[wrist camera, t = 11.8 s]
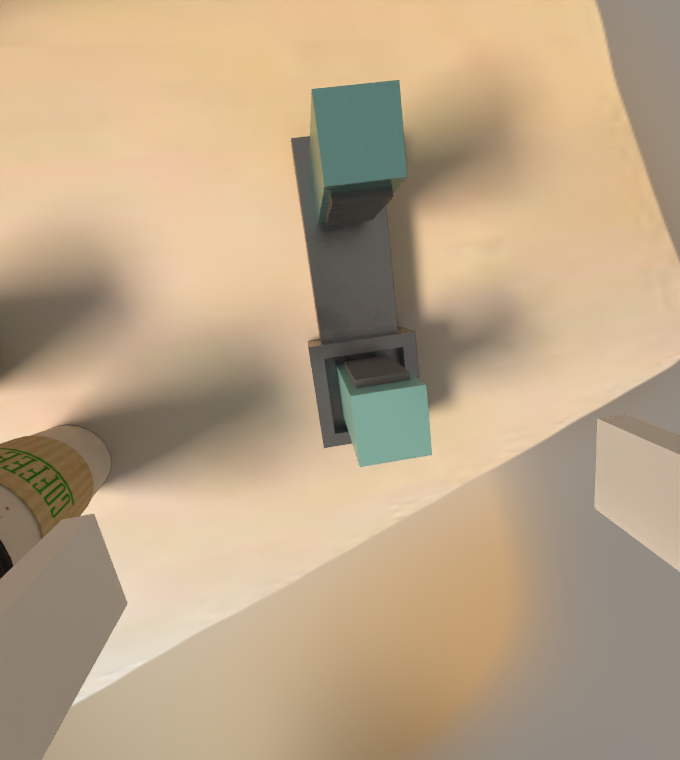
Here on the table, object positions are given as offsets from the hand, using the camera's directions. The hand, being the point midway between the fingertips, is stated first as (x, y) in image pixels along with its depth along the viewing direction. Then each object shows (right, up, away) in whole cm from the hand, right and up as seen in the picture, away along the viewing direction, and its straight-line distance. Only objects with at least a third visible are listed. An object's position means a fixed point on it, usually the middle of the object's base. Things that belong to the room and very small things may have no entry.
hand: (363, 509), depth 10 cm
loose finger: (+1, +3, +19) cm, 20 cm away
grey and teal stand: (0, +10, +20) cm, 22 cm away
